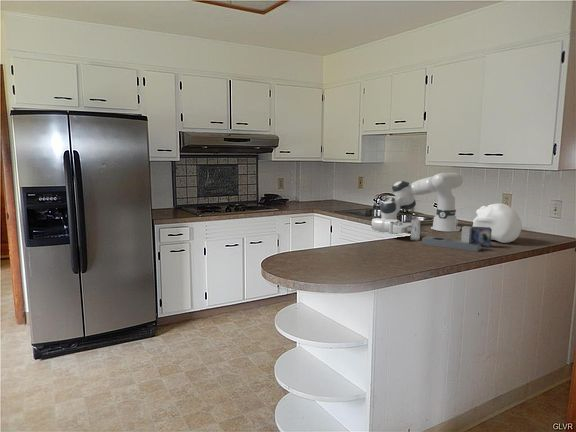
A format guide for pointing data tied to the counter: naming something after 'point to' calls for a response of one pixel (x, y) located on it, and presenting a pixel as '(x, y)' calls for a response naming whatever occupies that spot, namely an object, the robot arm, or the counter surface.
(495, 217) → the head
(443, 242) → the rail
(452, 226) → the robot arm
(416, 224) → the clip
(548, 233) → the counter surface
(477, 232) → the small box
